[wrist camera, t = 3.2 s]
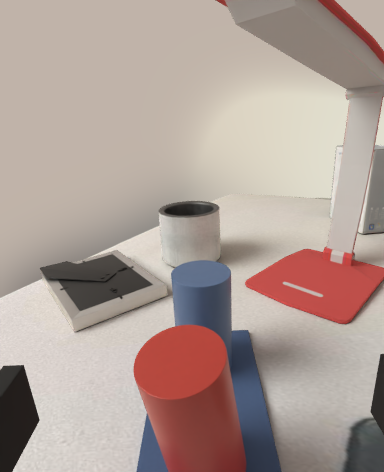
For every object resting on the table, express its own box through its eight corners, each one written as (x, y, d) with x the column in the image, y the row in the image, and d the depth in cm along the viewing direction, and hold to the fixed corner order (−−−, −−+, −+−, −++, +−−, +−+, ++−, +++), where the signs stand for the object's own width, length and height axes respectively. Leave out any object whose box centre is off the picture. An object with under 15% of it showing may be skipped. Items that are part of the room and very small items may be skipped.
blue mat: (299, 556, 22) (300, 551, 21) (123, 557, 22) (122, 552, 22) (248, 333, 44) (248, 330, 44) (161, 335, 44) (161, 332, 44)
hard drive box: (391, 232, 77) (406, 147, 71) (362, 235, 77) (374, 149, 70) (353, 215, 92) (362, 143, 85) (327, 217, 91) (335, 144, 84)
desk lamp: (197, 312, 49) (181, 5, 36) (315, 242, 74) (332, 44, 61) (306, 370, 37) (345, -64, 24) (404, 263, 62) (450, 21, 48)
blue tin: (218, 390, 34) (215, 292, 30) (168, 371, 37) (159, 279, 33) (239, 353, 40) (239, 265, 36) (194, 339, 43) (189, 256, 39)
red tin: (230, 523, 23) (203, 413, 18) (155, 487, 26) (113, 383, 21) (255, 438, 28) (239, 333, 23) (190, 416, 31) (163, 318, 26)
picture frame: (42, 281, 62) (74, 332, 46) (39, 267, 61) (70, 315, 45) (118, 258, 71) (167, 295, 55) (116, 246, 70) (166, 281, 54)
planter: (165, 274, 62) (161, 219, 58) (160, 251, 74) (155, 203, 70) (228, 266, 64) (227, 213, 60) (212, 244, 76) (211, 198, 72)
